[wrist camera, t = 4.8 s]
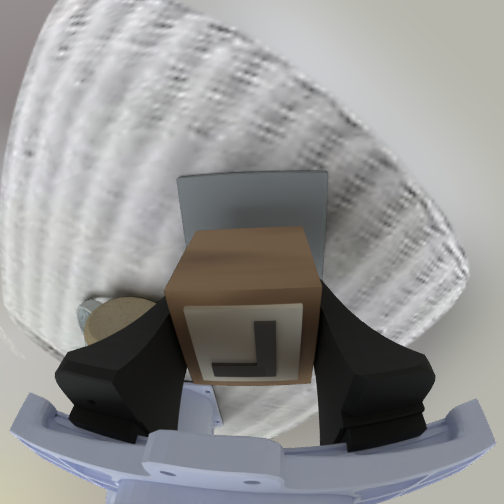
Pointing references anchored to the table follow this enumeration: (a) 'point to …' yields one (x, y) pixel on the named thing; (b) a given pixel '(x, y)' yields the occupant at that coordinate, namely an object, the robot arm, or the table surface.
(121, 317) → the ceramic mug
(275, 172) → the slate mat
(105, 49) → the table surface
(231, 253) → the letter cube
